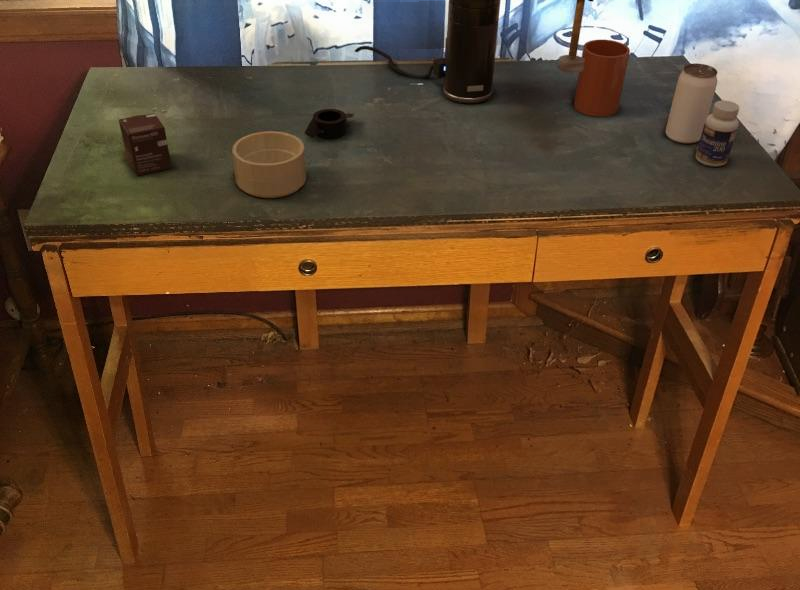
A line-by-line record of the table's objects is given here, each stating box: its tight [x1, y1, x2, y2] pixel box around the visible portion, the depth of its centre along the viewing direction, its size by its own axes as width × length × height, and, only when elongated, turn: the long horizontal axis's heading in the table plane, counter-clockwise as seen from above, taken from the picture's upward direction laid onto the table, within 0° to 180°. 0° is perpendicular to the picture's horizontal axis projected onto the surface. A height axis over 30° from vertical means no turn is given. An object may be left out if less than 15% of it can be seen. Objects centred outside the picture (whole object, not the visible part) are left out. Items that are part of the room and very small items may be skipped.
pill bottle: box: [695, 100, 740, 168], centre depth 144 cm, size 5×5×10 cm
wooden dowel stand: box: [557, 0, 586, 74], centre depth 128 cm, size 4×4×15 cm
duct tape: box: [304, 108, 355, 140], centre depth 151 cm, size 8×10×3 cm
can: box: [664, 63, 718, 145], centre depth 149 cm, size 6×6×12 cm
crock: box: [573, 39, 631, 117], centre depth 158 cm, size 8×8×11 cm
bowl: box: [231, 130, 307, 199], centre depth 137 cm, size 11×11×6 cm
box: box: [118, 112, 172, 176], centre depth 140 cm, size 6×6×7 cm
